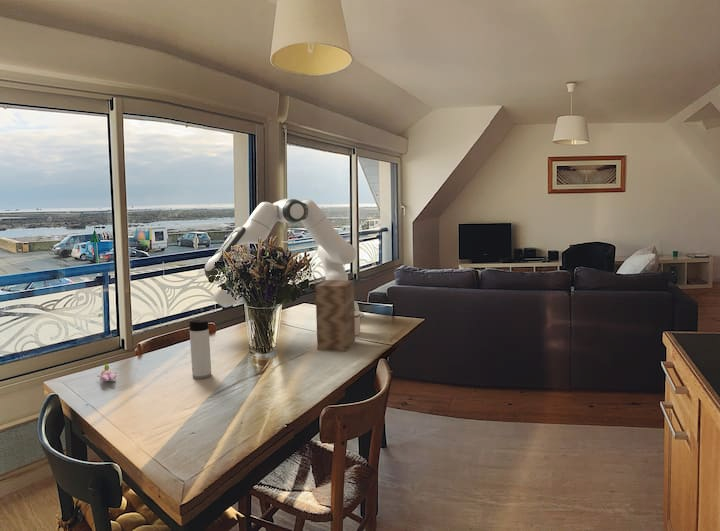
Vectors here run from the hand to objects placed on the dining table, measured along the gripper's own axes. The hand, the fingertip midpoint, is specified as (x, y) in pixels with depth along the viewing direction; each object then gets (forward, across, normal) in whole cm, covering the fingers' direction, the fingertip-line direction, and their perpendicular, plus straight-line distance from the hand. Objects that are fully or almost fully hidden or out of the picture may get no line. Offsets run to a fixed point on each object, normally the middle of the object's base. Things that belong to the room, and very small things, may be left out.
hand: (273, 268), depth 212 cm
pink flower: (-50, -53, +8) cm, 73 cm away
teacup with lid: (+6, +19, +40) cm, 45 cm away
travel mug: (-24, -43, +23) cm, 55 cm away
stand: (+7, 0, +40) cm, 41 cm away
